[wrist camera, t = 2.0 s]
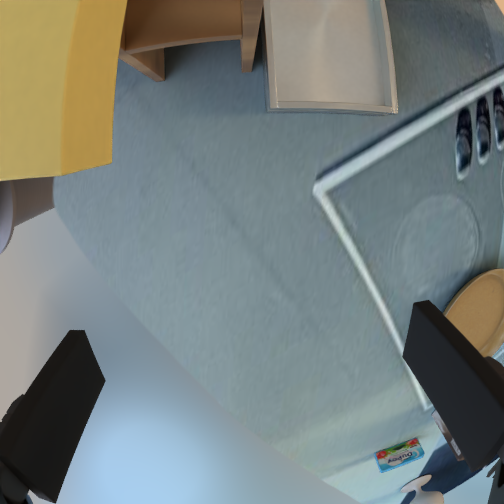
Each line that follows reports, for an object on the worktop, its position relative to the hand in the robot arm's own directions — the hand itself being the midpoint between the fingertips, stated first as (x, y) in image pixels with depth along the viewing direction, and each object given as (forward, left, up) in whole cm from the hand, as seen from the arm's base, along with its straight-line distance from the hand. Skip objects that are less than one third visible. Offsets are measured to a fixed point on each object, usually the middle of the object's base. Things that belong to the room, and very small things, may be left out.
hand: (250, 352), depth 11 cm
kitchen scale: (+9, +24, -30) cm, 39 cm away
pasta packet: (-6, +18, 0) cm, 19 cm away
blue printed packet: (+40, -59, -30) cm, 77 cm away
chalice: (+62, -92, -30) cm, 115 cm away
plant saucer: (+45, -20, -30) cm, 58 cm away
